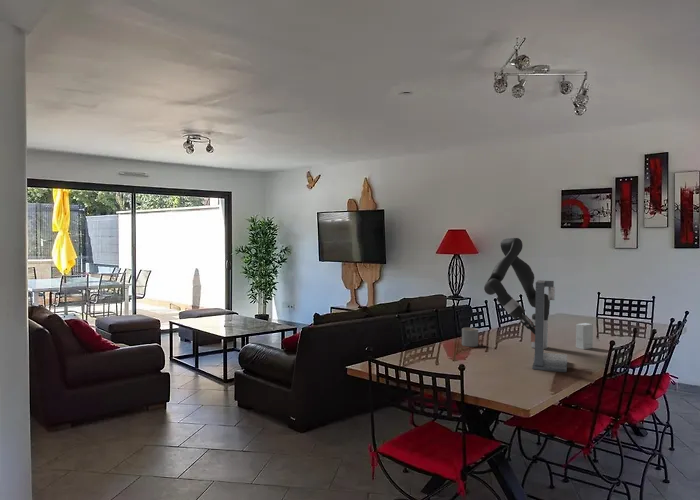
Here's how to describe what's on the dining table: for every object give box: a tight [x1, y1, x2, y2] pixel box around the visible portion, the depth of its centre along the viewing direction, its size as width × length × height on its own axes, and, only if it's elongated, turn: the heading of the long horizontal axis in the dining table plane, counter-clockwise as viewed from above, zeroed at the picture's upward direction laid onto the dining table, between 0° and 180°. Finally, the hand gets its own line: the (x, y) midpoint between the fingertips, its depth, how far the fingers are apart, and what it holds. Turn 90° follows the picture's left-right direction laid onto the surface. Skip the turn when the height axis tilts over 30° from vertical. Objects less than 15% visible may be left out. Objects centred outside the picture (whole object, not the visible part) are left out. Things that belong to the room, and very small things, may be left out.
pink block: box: [530, 327, 535, 343], centre depth 278 cm, size 6×6×7 cm
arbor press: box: [531, 279, 568, 373], centre depth 272 cm, size 24×16×44 cm, turn 157°
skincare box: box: [575, 322, 594, 350], centre depth 316 cm, size 8×6×15 cm
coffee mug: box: [461, 327, 479, 348], centre depth 326 cm, size 13×10×10 cm
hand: (536, 332), depth 278 cm, fingers closed on pink block, 5 cm apart
